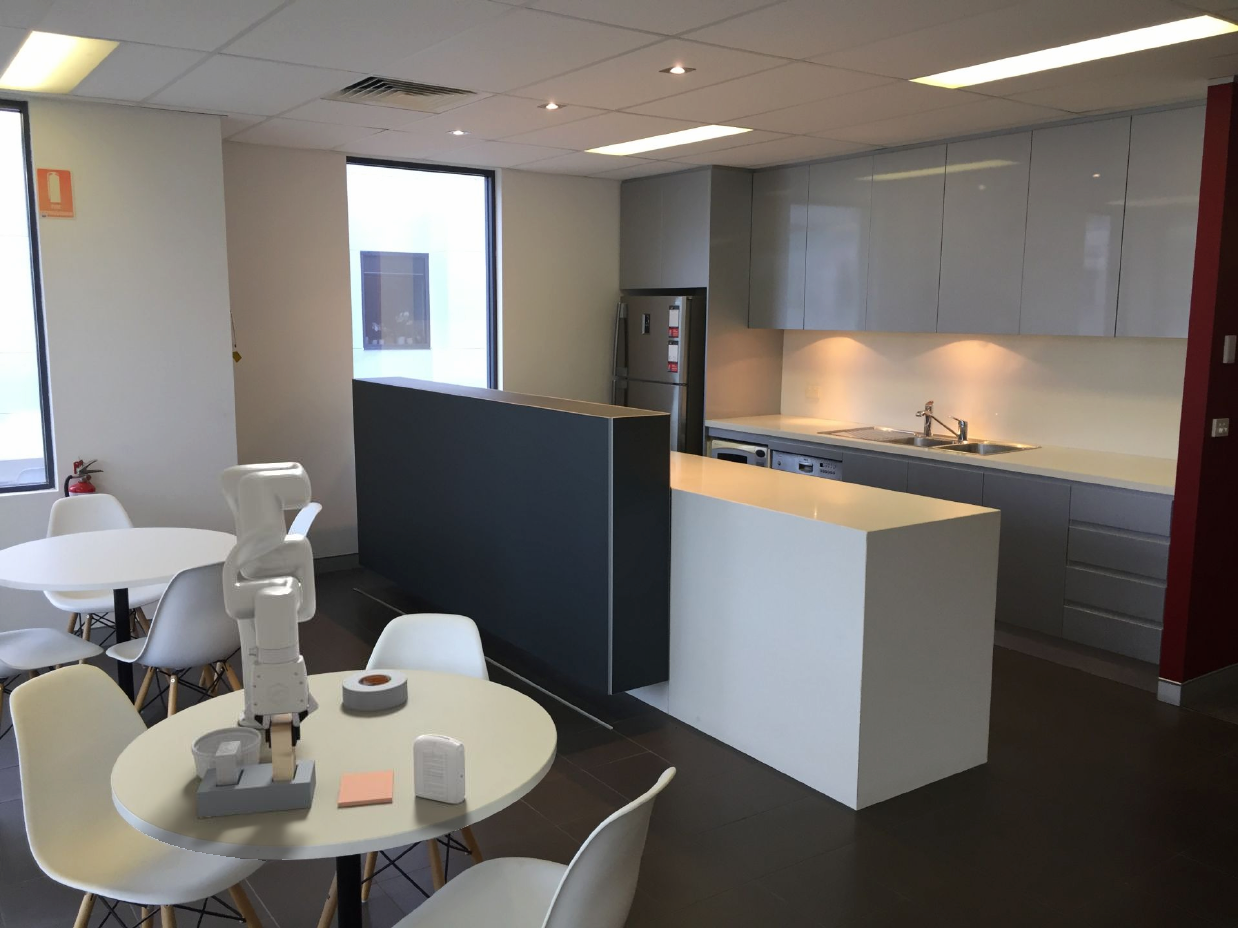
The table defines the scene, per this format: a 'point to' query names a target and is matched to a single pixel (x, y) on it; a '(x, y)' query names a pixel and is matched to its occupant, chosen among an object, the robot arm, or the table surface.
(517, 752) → the table surface
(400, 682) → the tape roll
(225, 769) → the steel plug
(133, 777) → the table surface
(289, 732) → the beech plug
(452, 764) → the photo printer
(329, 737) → the table surface
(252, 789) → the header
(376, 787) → the mat
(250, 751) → the ramekin
